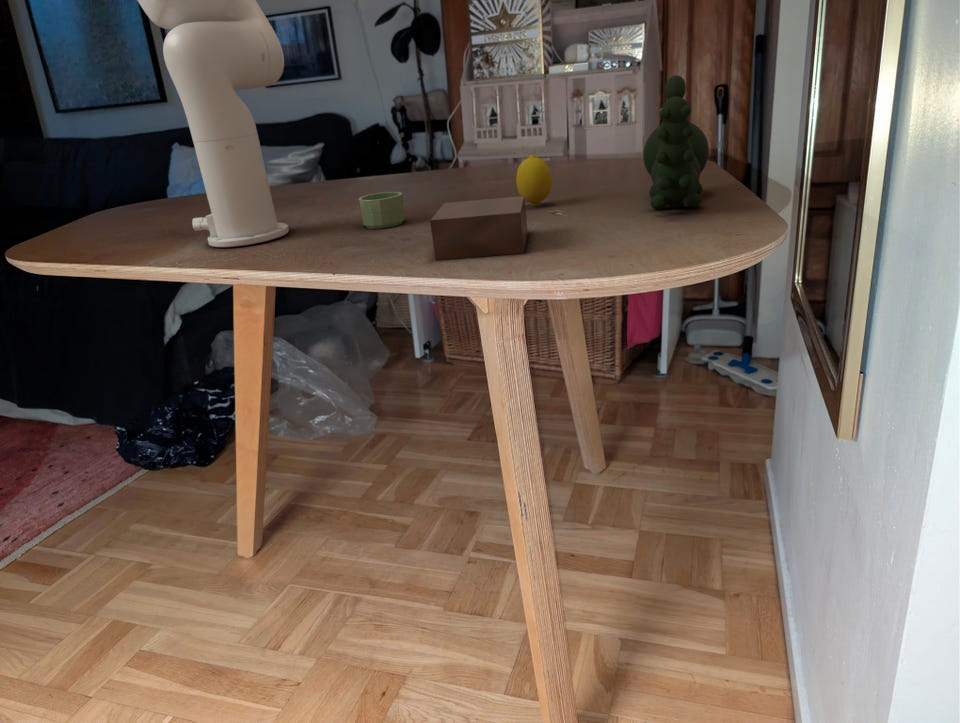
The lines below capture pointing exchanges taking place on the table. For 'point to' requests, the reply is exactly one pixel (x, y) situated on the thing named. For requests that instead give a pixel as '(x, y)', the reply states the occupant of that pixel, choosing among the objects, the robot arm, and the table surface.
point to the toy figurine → (675, 152)
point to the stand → (480, 228)
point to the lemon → (533, 180)
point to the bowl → (382, 210)
